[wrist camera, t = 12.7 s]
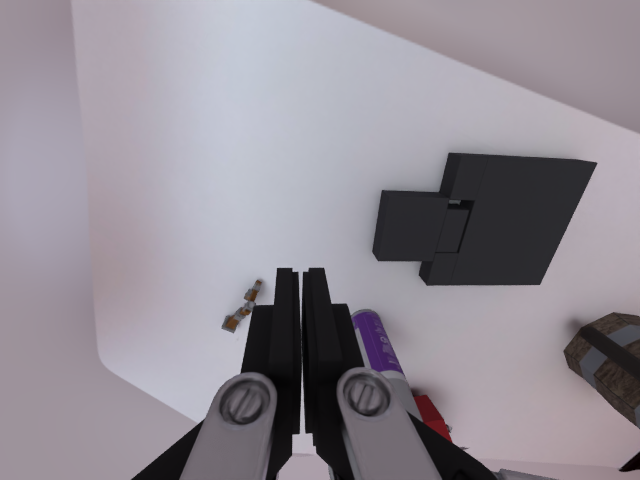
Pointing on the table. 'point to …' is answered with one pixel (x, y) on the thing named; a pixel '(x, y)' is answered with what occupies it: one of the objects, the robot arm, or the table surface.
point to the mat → (507, 217)
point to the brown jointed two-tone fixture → (242, 309)
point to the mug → (610, 361)
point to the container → (382, 355)
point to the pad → (417, 226)
